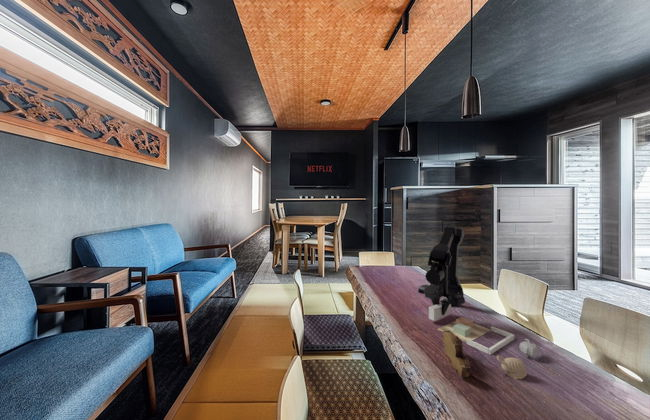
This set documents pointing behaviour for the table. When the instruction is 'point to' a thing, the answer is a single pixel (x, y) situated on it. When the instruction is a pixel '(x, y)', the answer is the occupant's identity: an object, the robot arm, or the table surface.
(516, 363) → the decorative ornament
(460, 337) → the board
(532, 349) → the garlic
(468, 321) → the tile
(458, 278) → the robot arm
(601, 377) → the table surface
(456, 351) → the wooden carving
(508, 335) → the tray
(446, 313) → the long grey plank
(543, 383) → the table surface
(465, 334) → the tile
